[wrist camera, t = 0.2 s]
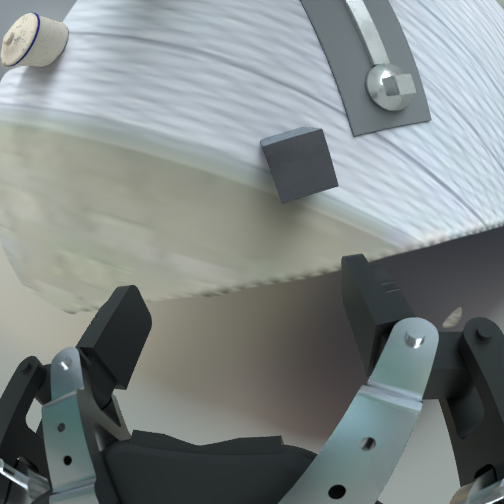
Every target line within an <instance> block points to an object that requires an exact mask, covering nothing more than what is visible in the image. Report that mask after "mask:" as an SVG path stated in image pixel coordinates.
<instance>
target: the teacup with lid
mask: <svg viewBox="0 0 504 504" xmlns="http://www.w3.org/2000/svg"><path fill="white" fill-rule="evenodd" d="M67 38H68V29H67V27H66V25H65V24H63V23H61V22H58V21H54V20H51V19H48V18H44V17H41V16H38V15H37V14H36V13H29V14H26V15H24V16H22V17H21V18H19V19H18V20H17V21H16V22H15V23H14V24H13V25H12V27H11V28H10V30H9V31H8V33H7V34H6V35H5V36H4V39H3V45H2V49H1V59H2V66H3V67H12V66H15V65H22V66H36V67H45V66H47V65H49V64H51V63H52V62H53V61H55V60H56V59H57V58H58V56H59V55H60V54H61V52H62V51H63V49H64V47H65V45H66V42H67Z"/></svg>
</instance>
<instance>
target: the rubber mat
mask: <svg viewBox="0 0 504 504" xmlns="http://www.w3.org/2000/svg"><path fill="white" fill-rule="evenodd" d="M300 1H301V3H302V5H303V7H304V9H305V11H306V13H307V15H308V17H309V19H310V21H311V23H312V25H313V27H314V30H315V32H316V34H317V36H318V38H319V41H320V43H321V45H322V48H323V50H324V52H325V55H326V57H327V60H328V62H329V65H330V67H331V70H332V73H333V75H334V78H335V81H336V83H337V86H338V89H339V92H340V95H341V98H342V101H343V104H344V107H345V110H346V113H347V116H348V120H349V123H350V126H351V130H352V133H353V136H356V135H360V134H364V133H369V132H373V131H377V130H382V129H387V128H391V127H396V126H401V125H406V124H412V123H417V122H423V121H428V120H431V116H430V111H429V107H428V103H427V100H426V96H425V92H424V89H423V85H422V82H421V79H420V76H419V72H418V69H417V66H416V64H415V61H414V58H413V55H412V52H411V50H410V47H409V45H408V42H407V40H406V37H405V35H404V33H403V30H402V28H401V26H400V23H399V21H398V19H397V17H396V15H395V13H394V11H393V9H392V7H391V5H390V3H389V1H388V0H362V1H363V2H364V4H365V6H366V8H367V10H368V12H369V14H370V16H371V19H372V21H373V23H374V25H375V27H376V29H377V32H378V34H379V36H380V39H381V41H382V43H383V46H384V48H385V51H386V53H387V56H388V59H389V61H390V63H389V64H393V65H395V66H397V67H399V68H400V69H401V70H403V71H404V72H405V74H411V76H412V80H413V83H414V86H415V89H416V93H412V98H411V101H410V103H409V104H408V105H407V106H406V107H405V108H404V109H401V110H394V111H390V110H384V109H382V108H380V107H378V106H377V105H375V104H374V103H373V102H372V101H371V99H370V98H369V96H368V95H367V92H366V89H365V76H366V74H367V72H368V71H369V70H370V69H371V68H372V67H374V66H371V64H370V61H369V58H368V56H367V53H366V51H365V48H364V46H363V43H362V41H361V39H360V36H359V34H358V32H357V30H356V27H355V25H354V23H353V21H352V19H351V17H350V15H349V13H348V11H347V9H346V7H345V5H344V3H343V1H342V0H300ZM375 66H376V65H375Z"/></svg>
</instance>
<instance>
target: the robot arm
mask: <svg viewBox="0 0 504 504" xmlns="http://www.w3.org/2000/svg"><path fill="white" fill-rule="evenodd" d="M341 267H342V300H343V305H344V309H345V311H346V315H347V317H348V320H349V323H350V326H351V329H352V332H353V335H354V338H355V341H356V344H357V347H358V351H359V354H360V357H361V360H362V363H363V367H364V370H365V373H366V376H371V377H370V378H369V380H368V382H367V383H366V384H363V385H362V387H361V388H360V390H359V391H358V393H357V395H356V396H355V398H354V400H353V402H352V403H351V405H350V407H349V408H348V410H347V412H346V413H345V415H344V417H343V418H342V420H341V421H340V423H339V424H338V426H337V427H336V429H335V431H334V432H333V434H332V435H331V437H330V438H329V440H328V441H327V443H326V444H325V445H324V447H323V448H322V450H321V451H320V452H319V454H316V453H313V452H312V451H309V450H306V449H303V448H299V447H295V446H290V445H284V443H283V440H282V437H281V436H271V437H250V438H237V439H232V440H228V441H223V442H219V443H213V444H208V445H201V446H198V445H194V444H190V443H187V442H185V441H182V440H179V439H176V438H173V437H171V436H168V435H165V434H160V433H152V432H145V431H139V430H133V432H132V436H131V435H130V433H129V431H128V429H127V426H126V424H125V421H124V418H123V416H122V413H121V410H120V407H119V404H118V401H117V398H116V396H115V395H114V394H113V390H114V389H122V390H126V389H127V386H128V384H129V381H130V378H131V376H132V373H133V371H134V368H135V366H136V363H137V361H138V358H139V356H140V354H141V351H142V348H143V346H144V344H145V341H146V339H147V337H148V335H149V332H150V330H151V326H152V319H151V315H150V313H149V311H148V309H147V307H146V304H145V302H144V300H143V298H142V296H141V294H140V292H139V290H138V288H137V287H136V286H135V285H129V286H121V287H117V288H116V289H115V291H114V292H113V294H112V295H111V297H110V298H109V300H108V301H107V302H106V303H105V304H104V305H103V306H102V307H101V308H100V309H99V311H98V312H97V314H96V315H95V317H94V318H93V320H92V321H91V324H90V325H89V326H88V328H87V330H86V331H85V333H84V334H83V336H82V337H81V339H80V341H79V342H78V344H77V346H76V347H75V348H74V347H68V348H65V349H63V350H61V351H60V352H59V353H58V354H57V355H56V356H55V357H54V358H53V360H52V362H51V364H47V365H42V364H41V363H40V361H39V360H38V359H37V358H36V357H35V356H30V357H27V358H26V359H24V360H23V361H22V362H21V363H20V364H19V366H18V367H17V369H16V371H15V373H14V374H13V376H12V378H11V380H10V381H9V383H8V385H7V387H6V389H5V391H4V393H3V395H2V397H1V399H0V504H382V503H381V502H379V501H378V500H377V499H378V497H379V496H380V494H381V493H382V491H383V489H384V487H385V486H386V484H387V482H388V481H389V479H390V477H391V475H392V473H393V471H394V469H395V468H396V466H397V464H398V462H399V460H400V458H401V456H402V454H403V452H404V449H405V447H406V445H407V443H408V441H409V438H410V436H411V434H412V431H413V429H414V427H415V424H416V422H417V419H418V416H419V414H420V411H421V408H422V404H423V402H422V399H439V402H440V406H441V409H442V412H443V415H444V418H445V422H446V425H447V429H448V432H449V436H450V440H451V444H452V448H453V451H454V456H455V460H456V465H457V469H458V474H459V480H460V486H461V488H460V489H459V490H458V491H457V492H456V493H455V494H454V496H453V497H452V499H451V501H450V504H504V335H503V333H502V331H501V330H500V328H499V327H498V326H497V325H496V324H495V323H494V322H493V321H491V320H489V319H487V318H482V317H478V318H473V319H471V320H469V321H468V322H467V323H466V325H465V327H464V329H463V331H462V332H438V331H437V330H436V328H435V327H434V325H432V324H431V323H430V322H428V321H426V320H424V319H421V318H417V317H416V315H415V314H414V312H413V311H412V309H411V307H410V305H409V304H408V302H407V300H406V299H405V297H404V296H403V294H402V292H401V291H400V290H399V288H398V286H397V285H396V283H394V280H393V278H392V277H391V275H390V274H389V272H388V271H386V270H385V269H383V268H382V267H380V266H379V265H374V266H370V265H369V263H368V261H367V260H366V258H365V257H364V255H363V254H356V255H350V256H343V257H342V261H341ZM34 398H35V399H36V400H38V402H39V403H40V404H41V405H42V419H41V422H40V424H39V426H38V429H37V432H36V433H35V432H33V431H32V430H31V429H30V428H28V426H27V424H26V415H27V412H28V410H29V408H30V406H31V404H32V401H33V399H34ZM17 458H19V460H18V459H17ZM52 486H53V487H52Z"/></svg>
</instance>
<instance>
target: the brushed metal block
mask: <svg viewBox="0 0 504 504" xmlns="http://www.w3.org/2000/svg"><path fill="white" fill-rule="evenodd" d="M260 141H261V144H262V147H263V150H264V153H265V156H266V158H267V161H268V164H269V167H270V170H271V173H272V175H273V178H274V181H275V184H276V187H277V190H278V193H279V196H280V199H281V202H282V203H286V202H289V201H292V200H295V199H298V198H301V197H305V196H308V195H311V194H314V193H318V192H321V191H324V190H327V189H331V188H334V187H338V182H337V178H336V175H335V171H334V167H333V164H332V160H331V157H330V153H329V150H328V146H327V143H326V140H325V137H324V133H323V130H322V129H319V128H307V127H302V128H298V129H295V130H291V131H288V132H285V133H282V134H278V135H275V136H272V137H269V138H266V139H263V140H260Z"/></svg>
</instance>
